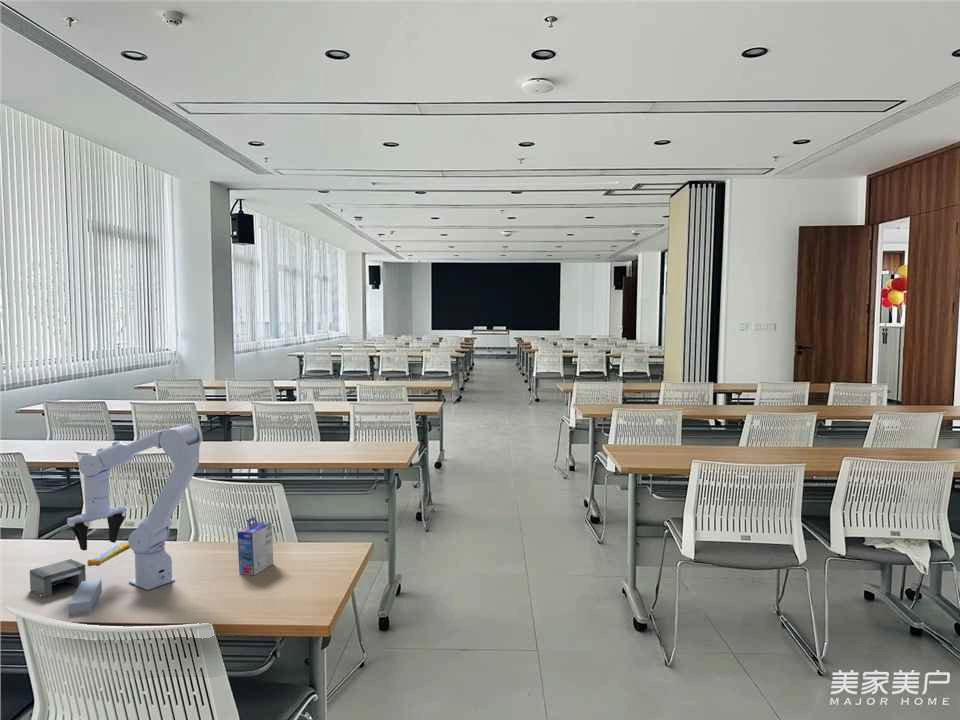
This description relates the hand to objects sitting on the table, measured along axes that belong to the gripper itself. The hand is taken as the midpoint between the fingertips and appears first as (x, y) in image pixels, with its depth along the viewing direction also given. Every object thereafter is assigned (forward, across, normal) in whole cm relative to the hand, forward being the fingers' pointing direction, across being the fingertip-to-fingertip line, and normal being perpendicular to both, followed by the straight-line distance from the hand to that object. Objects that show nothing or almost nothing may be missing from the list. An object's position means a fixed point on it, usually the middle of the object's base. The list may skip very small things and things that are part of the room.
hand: (98, 545), depth 178 cm
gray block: (+9, +9, -3) cm, 13 cm away
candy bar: (+10, -12, -17) cm, 23 cm away
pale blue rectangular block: (+10, +9, +12) cm, 18 cm away
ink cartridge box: (+10, -29, +29) cm, 42 cm away
